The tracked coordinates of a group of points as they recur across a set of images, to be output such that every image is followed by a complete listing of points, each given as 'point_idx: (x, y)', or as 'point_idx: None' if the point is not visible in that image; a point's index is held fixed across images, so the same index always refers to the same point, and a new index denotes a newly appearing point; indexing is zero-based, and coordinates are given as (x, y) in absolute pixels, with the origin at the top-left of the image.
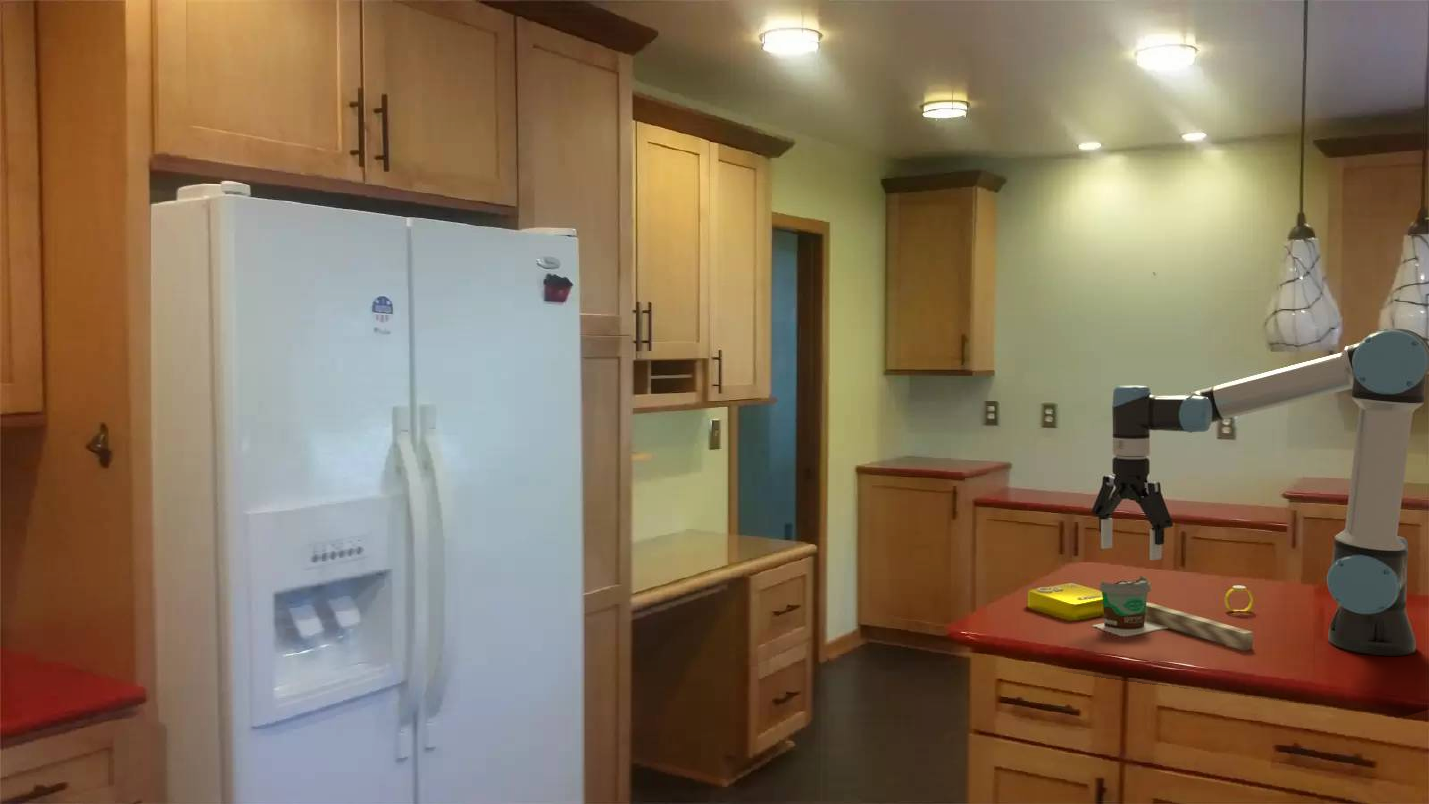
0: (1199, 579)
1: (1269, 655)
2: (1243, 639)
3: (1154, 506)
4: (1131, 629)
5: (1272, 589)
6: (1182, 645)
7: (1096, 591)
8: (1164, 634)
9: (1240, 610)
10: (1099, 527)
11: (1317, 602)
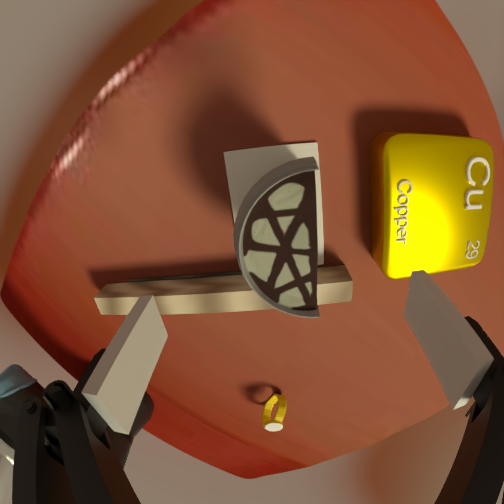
0: (394, 424)
1: (87, 295)
2: (99, 292)
3: (26, 498)
4: None
5: (323, 449)
6: (144, 220)
7: (425, 263)
8: (211, 238)
9: (272, 401)
10: (482, 330)
11: (265, 450)
